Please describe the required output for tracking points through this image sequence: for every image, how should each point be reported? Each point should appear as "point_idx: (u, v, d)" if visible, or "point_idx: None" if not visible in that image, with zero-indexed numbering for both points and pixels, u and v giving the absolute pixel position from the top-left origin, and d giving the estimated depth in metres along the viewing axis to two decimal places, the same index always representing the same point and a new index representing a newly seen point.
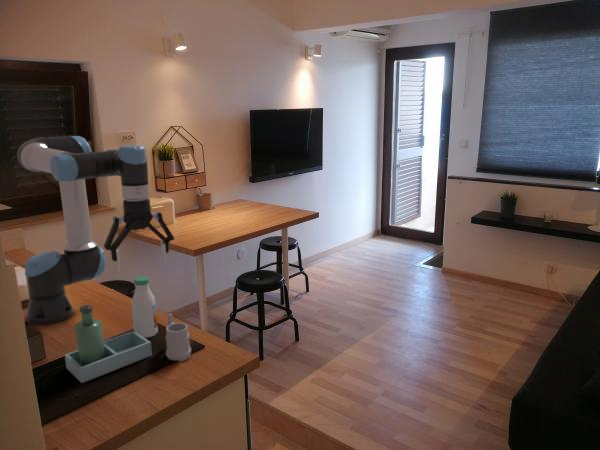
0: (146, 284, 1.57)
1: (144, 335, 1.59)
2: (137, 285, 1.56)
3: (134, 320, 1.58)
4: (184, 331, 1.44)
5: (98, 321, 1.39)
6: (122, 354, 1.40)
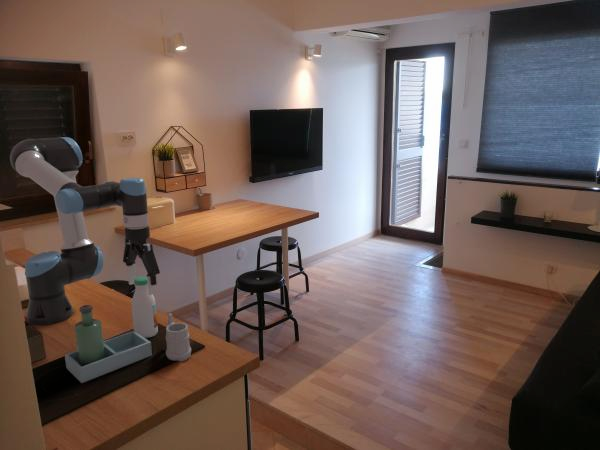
0: (146, 284, 1.57)
1: (144, 335, 1.59)
2: (137, 285, 1.56)
3: (134, 320, 1.58)
4: (184, 331, 1.44)
5: (98, 321, 1.39)
6: (122, 354, 1.40)
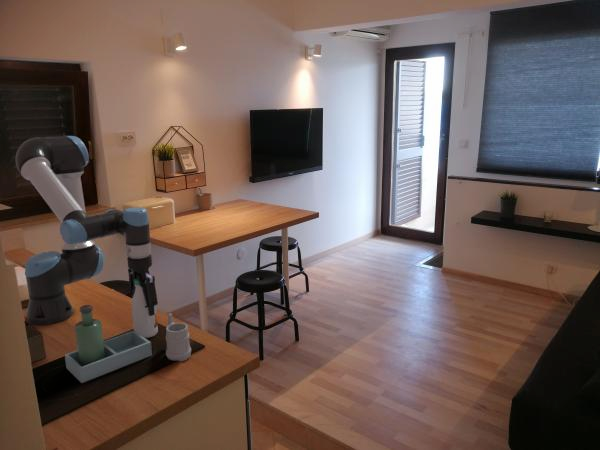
0: None
1: (144, 335, 1.59)
2: (137, 285, 1.56)
3: (134, 320, 1.58)
4: (184, 331, 1.44)
5: (98, 321, 1.39)
6: (122, 354, 1.40)
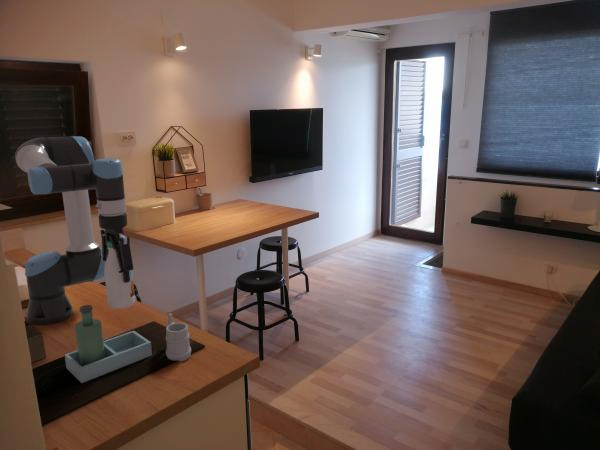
0: None
1: (118, 305, 1.39)
2: (110, 247, 1.37)
3: (107, 288, 1.39)
4: (184, 331, 1.44)
5: (98, 321, 1.39)
6: (122, 354, 1.40)
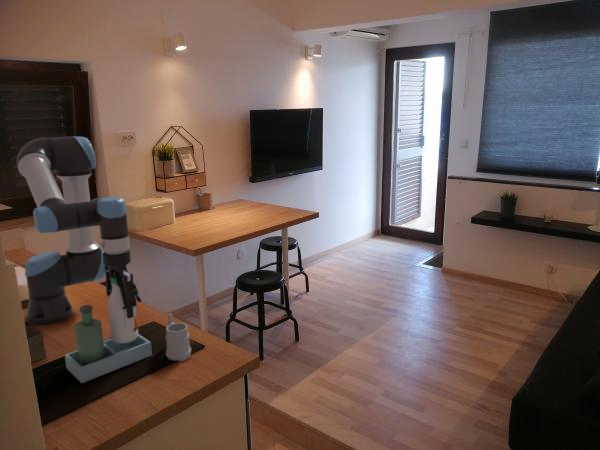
0: None
1: (122, 340, 1.42)
2: (114, 284, 1.40)
3: (111, 323, 1.42)
4: (184, 331, 1.44)
5: (98, 321, 1.39)
6: (122, 354, 1.40)
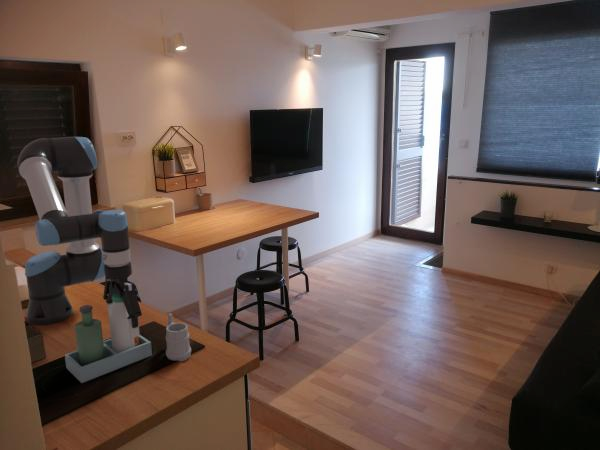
0: None
1: None
2: (115, 302, 1.41)
3: (112, 341, 1.43)
4: (184, 331, 1.44)
5: (98, 321, 1.39)
6: (122, 354, 1.40)
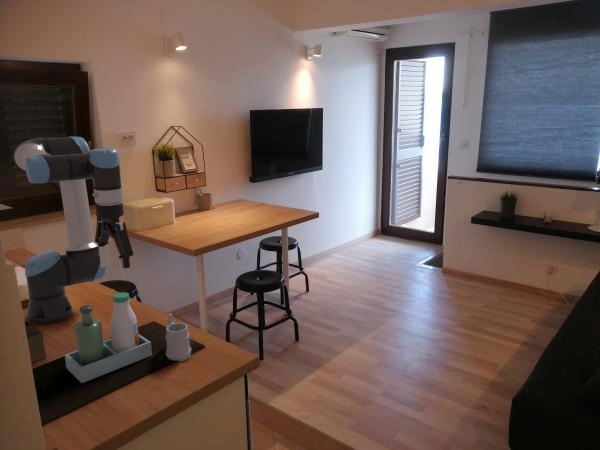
0: (126, 301, 1.42)
1: None
2: (116, 302, 1.41)
3: (113, 341, 1.43)
4: (184, 331, 1.44)
5: (98, 321, 1.39)
6: (122, 354, 1.40)
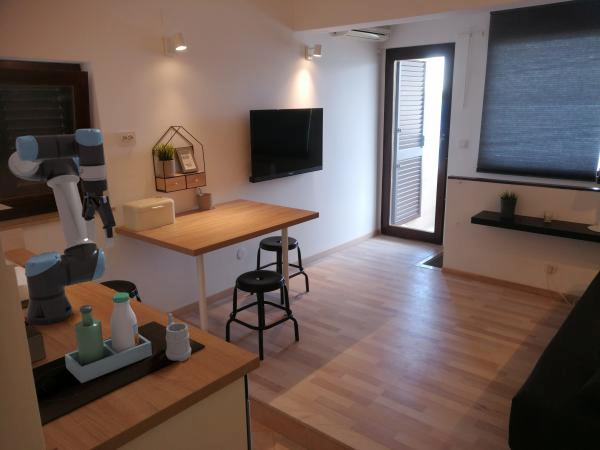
0: (126, 301, 1.42)
1: None
2: (116, 302, 1.41)
3: (113, 341, 1.43)
4: (184, 331, 1.44)
5: (98, 321, 1.39)
6: (122, 354, 1.40)
